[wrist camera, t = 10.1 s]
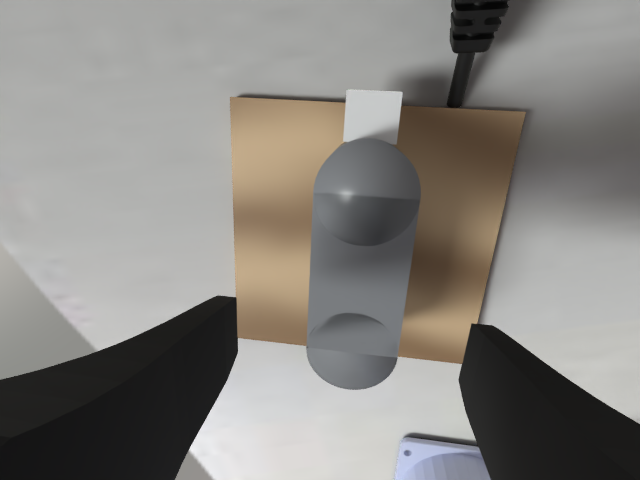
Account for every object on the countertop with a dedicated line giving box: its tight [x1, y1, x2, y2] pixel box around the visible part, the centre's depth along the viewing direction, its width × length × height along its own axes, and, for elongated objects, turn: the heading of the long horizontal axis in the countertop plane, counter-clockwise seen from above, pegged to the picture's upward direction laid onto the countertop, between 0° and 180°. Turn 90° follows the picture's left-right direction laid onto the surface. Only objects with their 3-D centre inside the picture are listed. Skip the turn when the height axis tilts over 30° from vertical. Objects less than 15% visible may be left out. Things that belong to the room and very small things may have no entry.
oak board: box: [230, 97, 526, 364], centre depth 19 cm, size 14×14×1 cm
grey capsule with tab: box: [306, 89, 421, 390], centre depth 16 cm, size 13×4×5 cm, turn 177°
